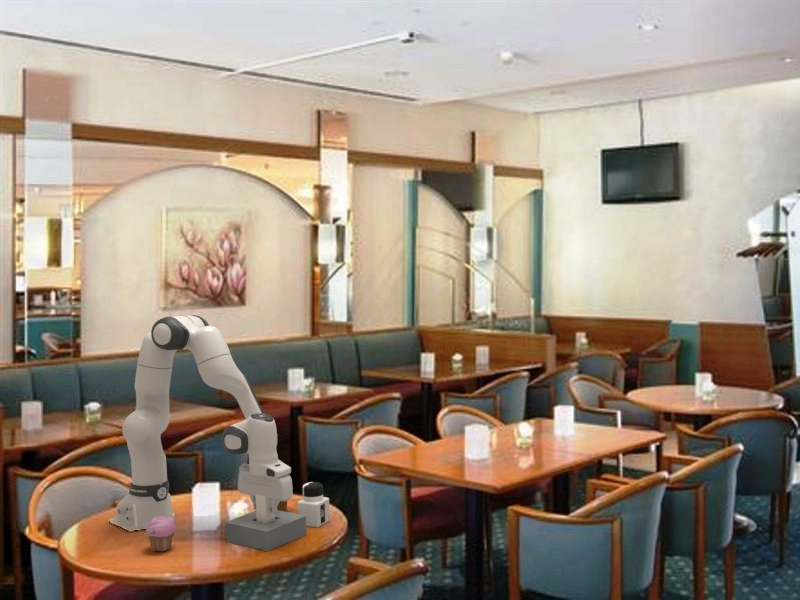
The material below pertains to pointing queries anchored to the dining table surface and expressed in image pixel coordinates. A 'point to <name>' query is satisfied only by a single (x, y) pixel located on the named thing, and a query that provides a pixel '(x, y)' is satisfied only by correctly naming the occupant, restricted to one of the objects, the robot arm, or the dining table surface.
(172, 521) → the cupcake
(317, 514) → the container
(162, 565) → the dining table surface
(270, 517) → the peg
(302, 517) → the well block
